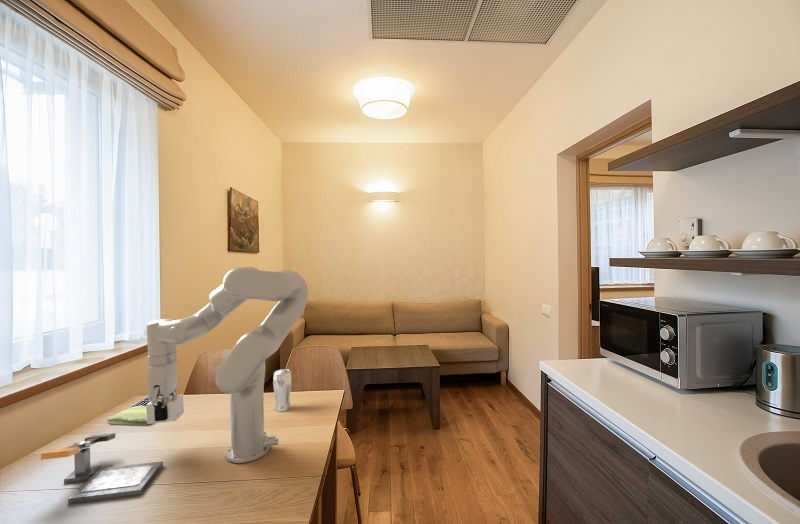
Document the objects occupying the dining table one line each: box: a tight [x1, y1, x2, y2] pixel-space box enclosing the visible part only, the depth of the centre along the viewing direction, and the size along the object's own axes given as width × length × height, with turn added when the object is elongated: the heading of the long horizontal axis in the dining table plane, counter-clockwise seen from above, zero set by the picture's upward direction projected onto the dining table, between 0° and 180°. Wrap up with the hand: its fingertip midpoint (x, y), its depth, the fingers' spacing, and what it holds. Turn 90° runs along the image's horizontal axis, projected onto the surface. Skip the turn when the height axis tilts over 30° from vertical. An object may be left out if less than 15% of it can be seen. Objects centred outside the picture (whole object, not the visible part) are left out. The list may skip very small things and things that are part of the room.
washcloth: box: [106, 405, 150, 426], centre depth 137 cm, size 13×18×3 cm
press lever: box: [40, 432, 116, 461], centre depth 100 cm, size 6×21×2 cm, turn 12°
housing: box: [145, 393, 185, 425], centre depth 112 cm, size 8×6×8 cm
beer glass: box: [272, 368, 292, 413], centre depth 143 cm, size 7×7×15 cm
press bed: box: [63, 447, 164, 505], centre depth 97 cm, size 23×15×7 cm, turn 102°
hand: (165, 415), depth 112 cm, fingers closed on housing, 6 cm apart
